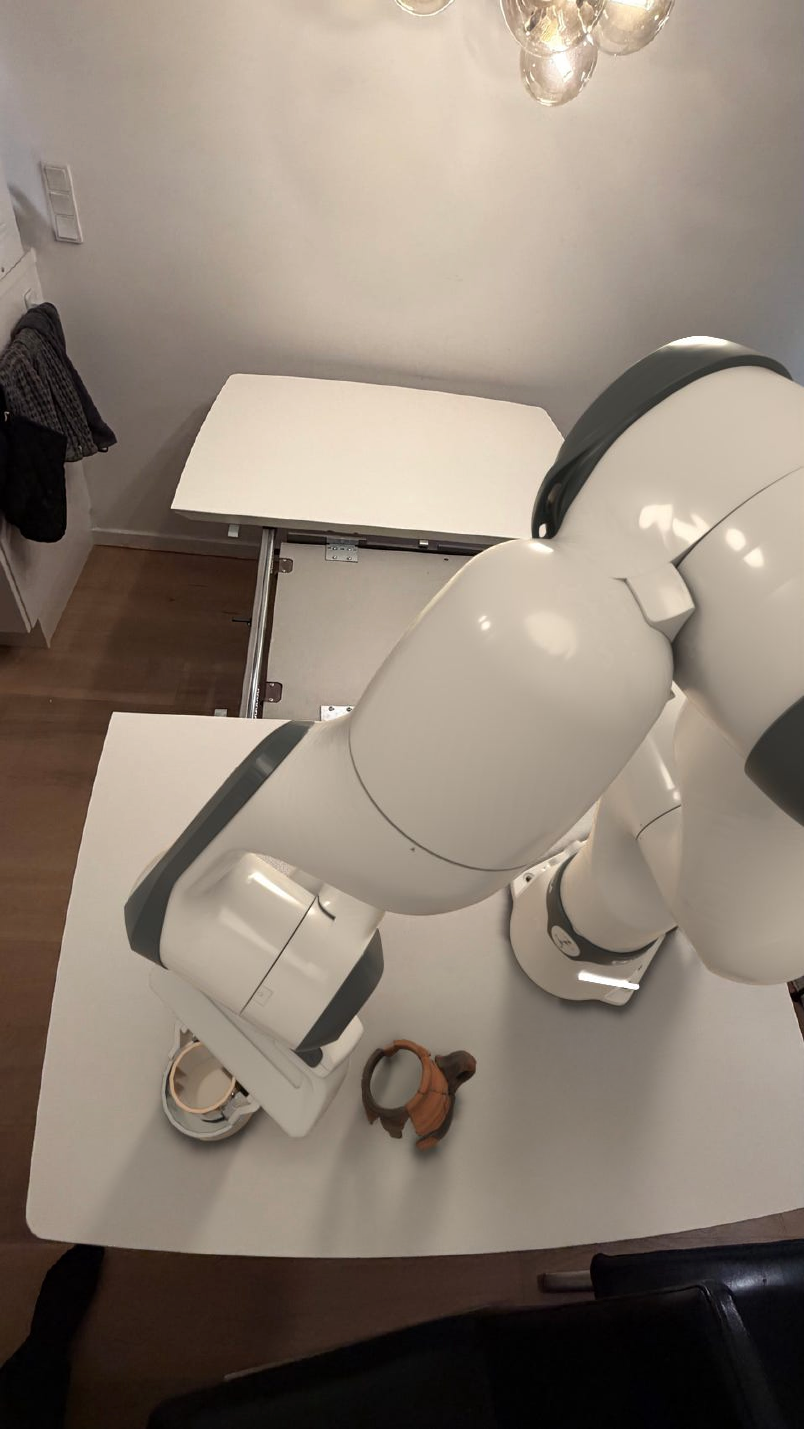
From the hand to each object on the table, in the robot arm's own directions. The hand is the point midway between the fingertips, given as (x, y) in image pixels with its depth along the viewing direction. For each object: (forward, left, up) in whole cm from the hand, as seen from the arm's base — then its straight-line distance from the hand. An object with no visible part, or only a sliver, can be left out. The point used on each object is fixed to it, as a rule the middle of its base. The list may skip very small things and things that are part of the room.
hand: (203, 1087), depth 62 cm
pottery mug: (-17, +13, -7) cm, 22 cm away
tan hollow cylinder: (-1, 0, -5) cm, 5 cm away
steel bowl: (-1, 0, -7) cm, 7 cm away
